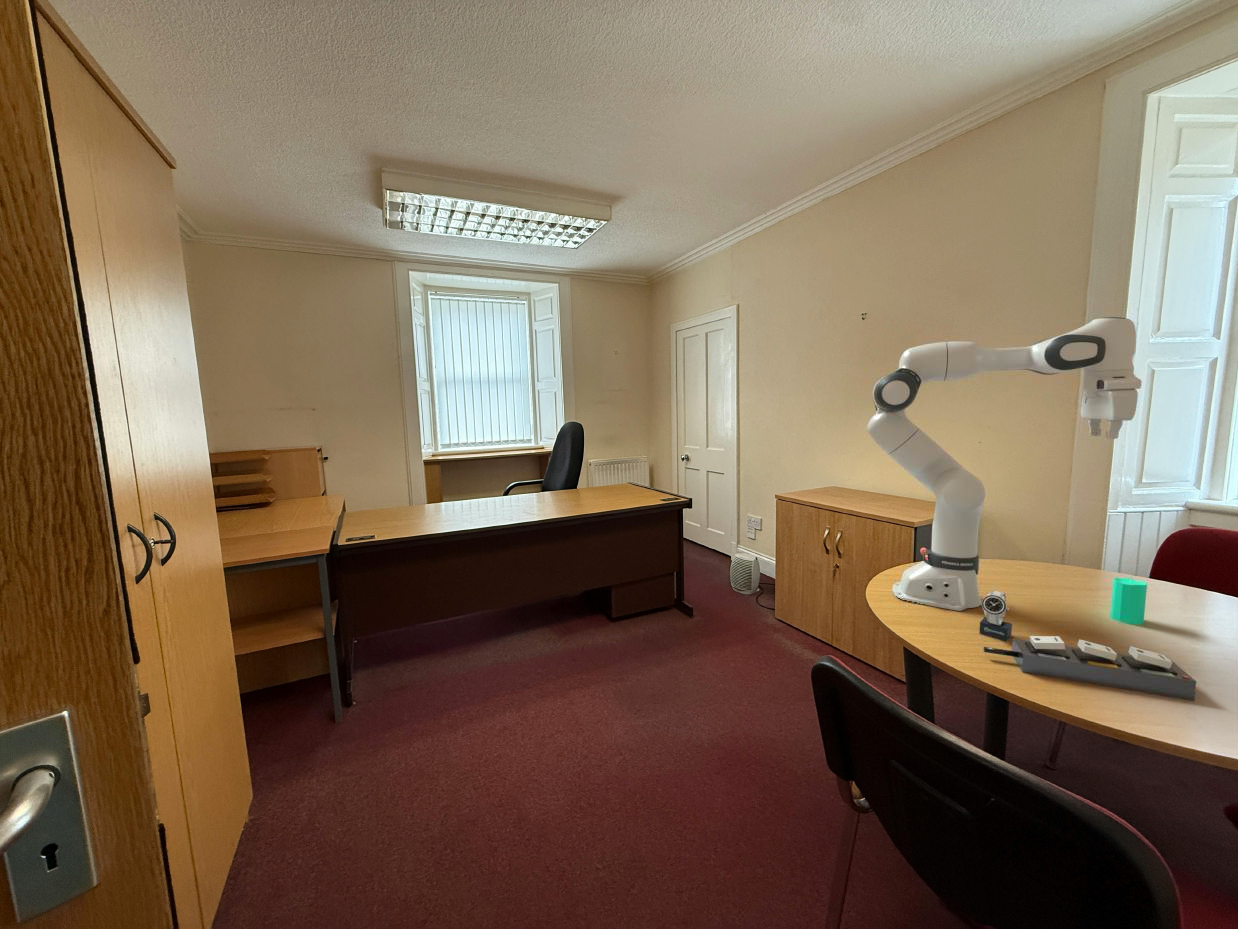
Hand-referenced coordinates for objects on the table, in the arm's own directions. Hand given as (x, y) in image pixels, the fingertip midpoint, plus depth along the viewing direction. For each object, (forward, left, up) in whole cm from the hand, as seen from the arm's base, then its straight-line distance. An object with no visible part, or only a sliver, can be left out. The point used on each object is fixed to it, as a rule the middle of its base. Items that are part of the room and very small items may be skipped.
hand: (1103, 437), depth 122 cm
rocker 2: (-11, -36, -42) cm, 57 cm away
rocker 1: (-19, -36, -42) cm, 59 cm away
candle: (+7, 0, -48) cm, 49 cm away
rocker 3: (-3, -36, -42) cm, 56 cm away
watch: (-25, -22, -48) cm, 58 cm away
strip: (-14, -36, -48) cm, 62 cm away
